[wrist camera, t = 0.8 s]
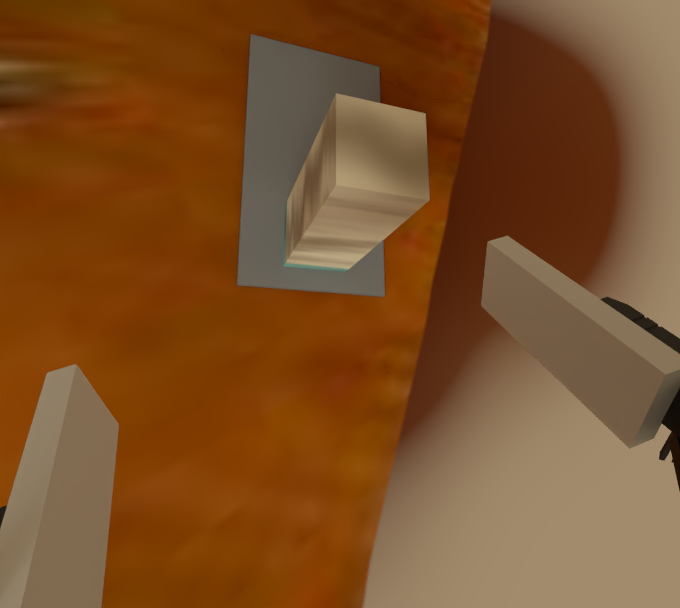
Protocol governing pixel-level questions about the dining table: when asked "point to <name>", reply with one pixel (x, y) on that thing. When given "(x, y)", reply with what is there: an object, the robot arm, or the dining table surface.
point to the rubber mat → (293, 160)
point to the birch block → (356, 184)
